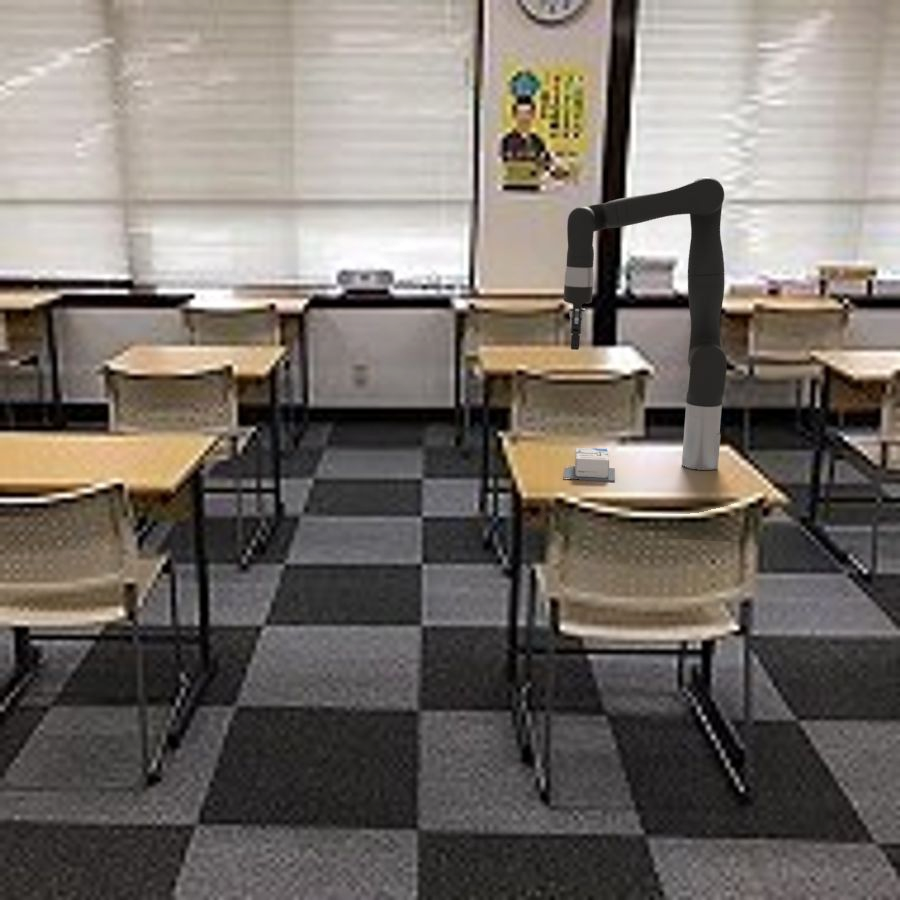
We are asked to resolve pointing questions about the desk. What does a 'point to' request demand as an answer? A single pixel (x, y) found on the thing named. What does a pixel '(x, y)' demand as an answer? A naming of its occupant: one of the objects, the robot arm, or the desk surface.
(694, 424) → the robot arm
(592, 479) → the mat
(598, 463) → the ink box
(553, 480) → the desk surface
